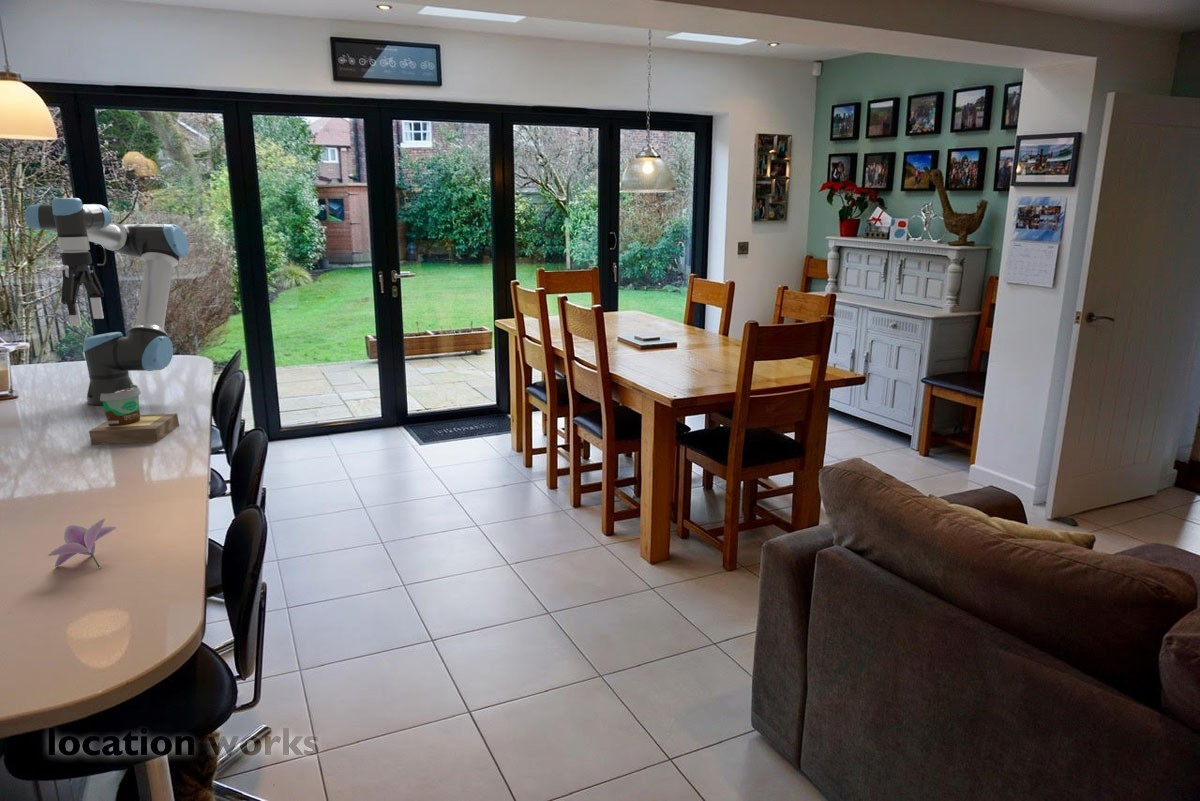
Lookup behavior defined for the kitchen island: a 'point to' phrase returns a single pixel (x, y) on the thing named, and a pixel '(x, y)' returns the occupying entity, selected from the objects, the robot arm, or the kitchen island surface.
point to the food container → (122, 406)
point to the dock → (136, 430)
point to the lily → (80, 541)
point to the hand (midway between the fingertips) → (87, 322)
